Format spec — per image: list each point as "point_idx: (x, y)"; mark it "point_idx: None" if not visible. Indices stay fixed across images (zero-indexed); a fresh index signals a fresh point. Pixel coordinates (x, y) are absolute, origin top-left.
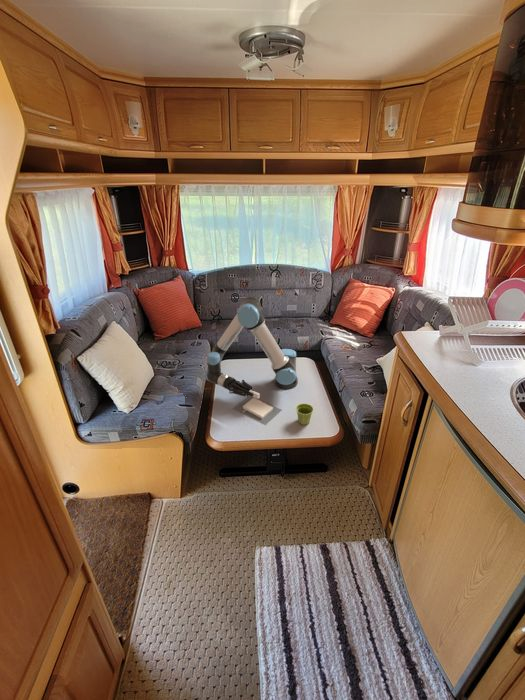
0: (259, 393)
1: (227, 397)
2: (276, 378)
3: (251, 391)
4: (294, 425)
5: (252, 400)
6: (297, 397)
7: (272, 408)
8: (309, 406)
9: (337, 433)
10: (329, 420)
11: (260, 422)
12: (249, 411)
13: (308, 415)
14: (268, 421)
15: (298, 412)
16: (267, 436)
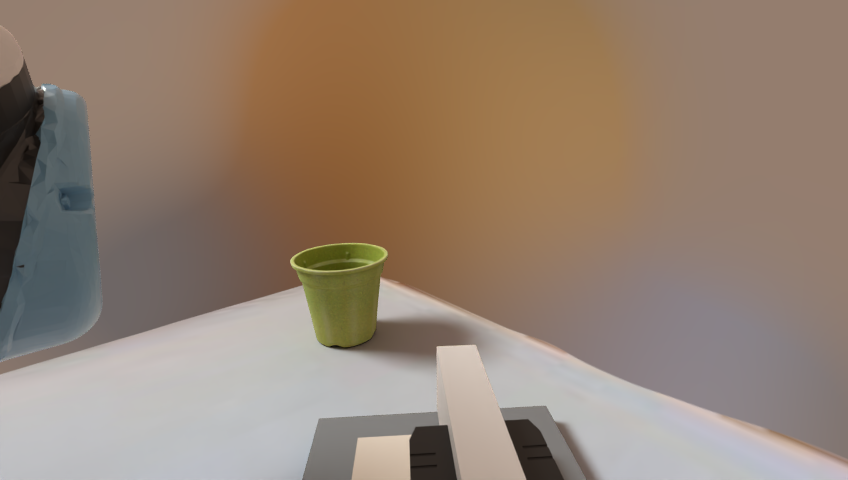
0: (437, 348)
1: None
2: (89, 244)
3: (497, 444)
4: (402, 343)
5: None
6: (70, 448)
7: (370, 439)
8: (299, 263)
9: None
10: (287, 296)
11: (564, 442)
12: None
13: (364, 258)
14: (501, 413)
15: (386, 257)
16: (584, 375)
